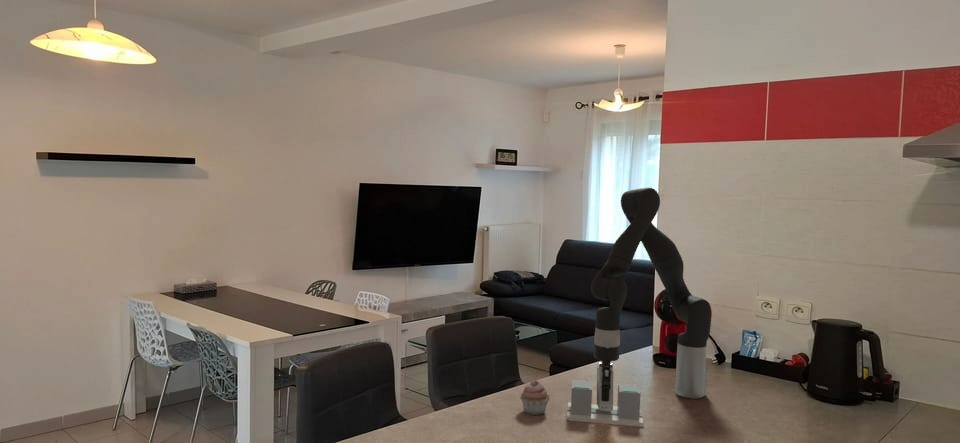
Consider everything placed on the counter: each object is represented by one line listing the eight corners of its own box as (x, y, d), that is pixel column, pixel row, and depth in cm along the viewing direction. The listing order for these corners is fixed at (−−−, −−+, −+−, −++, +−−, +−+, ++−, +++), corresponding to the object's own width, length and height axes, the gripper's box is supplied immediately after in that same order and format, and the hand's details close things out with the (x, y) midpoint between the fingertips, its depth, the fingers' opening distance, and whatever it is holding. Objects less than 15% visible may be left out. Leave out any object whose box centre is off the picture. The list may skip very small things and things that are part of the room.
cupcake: (515, 414, 189) (516, 382, 188) (524, 404, 198) (524, 373, 197) (545, 419, 186) (546, 386, 185) (552, 408, 194) (553, 377, 194)
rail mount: (639, 411, 194) (641, 382, 193) (643, 426, 182) (644, 395, 181) (568, 405, 197) (569, 376, 196) (567, 420, 185) (568, 389, 185)
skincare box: (613, 411, 186) (615, 371, 185) (598, 410, 186) (599, 371, 185) (609, 403, 192) (611, 365, 192) (595, 403, 193) (596, 364, 192)
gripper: (594, 336, 196) (591, 388, 197) (594, 348, 181) (592, 404, 183) (618, 337, 194) (616, 390, 196) (621, 350, 180) (618, 406, 181)
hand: (604, 396), depth 189 cm, fingers closed on skincare box, 6 cm apart
